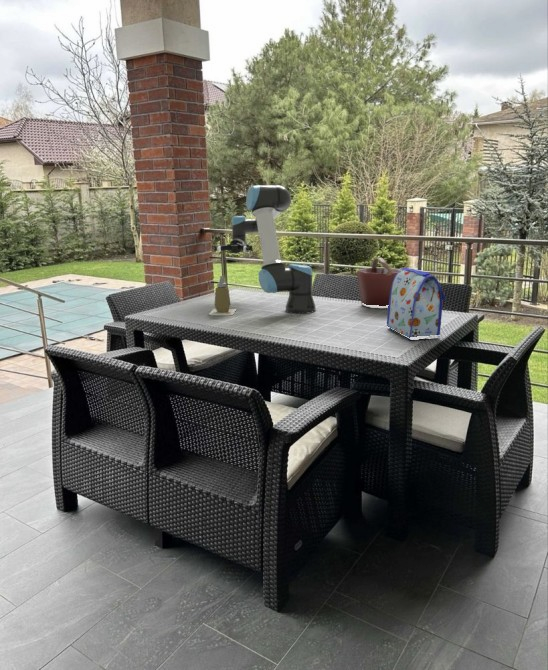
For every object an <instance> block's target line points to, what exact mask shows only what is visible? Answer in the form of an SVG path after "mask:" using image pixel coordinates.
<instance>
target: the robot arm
mask: <svg viewBox="0 0 548 670" xmlns="http://www.w3.org/2000/svg"><path fill="white" fill-rule="evenodd" d="M245 199H246V201H245V203H246V204H245V205H246V208H247V210H248V211H251V212H252V213H251V214H252V216H253V217H255V218H248V219H247V218H246V217H245V215H234V216H232V217H231V231H232V232H231V233H232V236H231V237H232V238H231V239H232V241H230V242H229V243H228V244H220V245H219V244H218V245H214V246H213V249H214V250H213V251H214V252H217V253H221V251H230V252H231V253H232V254H239V253H241V252H242V251H243V253H246V252H248V251H251V252H253V245H250V244H248V243H247V239H246V238H247V237H246V236H247V235H246V234H249V233H252V234H253V233H258V238H259V243H260V250H261V255H262V261H263V263H262V265H261V267H260V268H261V269H260V270H259V271H258V282H259V285H260V288H261V290H263V292H264V293H266V294H267V293H268V294H272V293H273V294H276V293H285V292H288V298H287V301H286V305H285V311H286V312H287V311H288V312H287V313H290V312H292V313H291V314H308V313H307V312H311V313H313V312H312V311H314V312H316V304H315V300H314V297H313V268H312V267H311V266H309V265H305V264H304V265H303V264H297V263H296V264H294V263H292V264H291V263H290V264H288V267H286V265H285V264H286V263H285V262H283V260H281V259H282V258H281V254H280V249H279V248H280V247H279V243H278V237H277V231H276V225H275V224H276V223H275V220H276V219H277V217H278V216H279V215H280V214H281V213H284V212H286V211H287V210H288V209H289V207H291V203H292V197H291V193H290V192H289V190H288V189H287V188H286V187H284V186H282V185H279V184H277V185H275V184H274V185H260V184H258V185H252V186H250V187H249V188H248V190H247V193H246V198H245Z"/></svg>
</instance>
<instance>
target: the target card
mask: <svg viewBox="0 0 548 670" xmlns="http://www.w3.org/2000/svg"><path fill="white" fill-rule="evenodd" d="M235 311H237V308H229V311H228V312H217V310H216V308H213V309H212V310H211V311H210V312H209V313H208V316H234V315H233V314H235V313H236V312H235Z"/></svg>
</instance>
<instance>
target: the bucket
mask: <svg viewBox="0 0 548 670" xmlns="http://www.w3.org/2000/svg"><path fill="white" fill-rule="evenodd" d="M378 263H380V265H382V267H378ZM400 269H401V268H392V267H391V266H390V265H389V264H388V263H387V261H386V260H385V259H384V258H383V257H375V258H374V259H373V260H372V263H371V267H365V268H361V269H357V270H356V278H357V284H358V288H359V296H360V301H361V304H362V303H364V304H366V305H379V306H386V305H389V299H390V291H391V287H392V283H393V280H394V277H395V276H396V275H397V274H398V272H399V271H400Z"/></svg>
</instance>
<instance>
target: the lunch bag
mask: <svg viewBox="0 0 548 670" xmlns="http://www.w3.org/2000/svg"><path fill="white" fill-rule="evenodd" d="M399 269H400V271H399V272H398V274H397V275H396V276H395V277H394V280H393V283H392V287H391V291H390V299H389V306H388V309H387V318H386V327H387V326H388V327H390V328H392V329H394V330H396V331H397V332H399V333H401V334H403V335H405V336H407V337H409V338H410V337H417V336H430V335H440V334H441V326H442V316H443V301H446V300H447V296H446V294H445V293H444V291H443V289H442V286H441V284H440V282H439V280H438V279H437V278H436V277H435V276H434V275H432V274H431V273H430V272H425V271H423V270H418V269H415V268H408V267H402V268H399Z"/></svg>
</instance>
